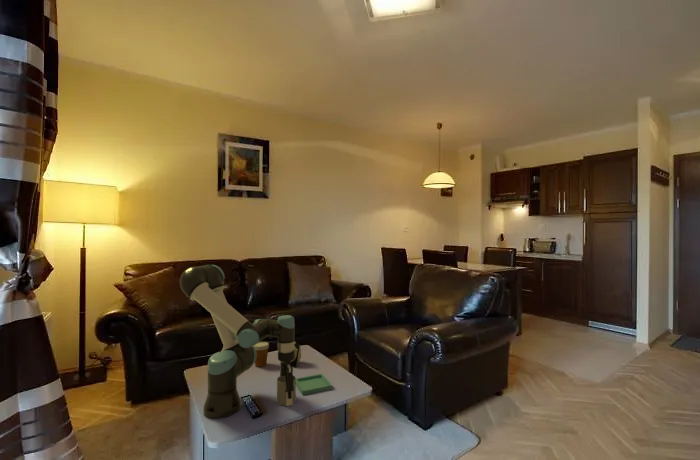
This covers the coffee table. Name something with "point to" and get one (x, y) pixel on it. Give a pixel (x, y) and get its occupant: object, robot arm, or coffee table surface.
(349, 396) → the coffee table surface
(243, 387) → the coffee table surface
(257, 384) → the coffee table surface
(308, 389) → the tray
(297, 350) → the decorative object
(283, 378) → the cup
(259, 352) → the disposable coffee cup
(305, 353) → the coffee table surface
